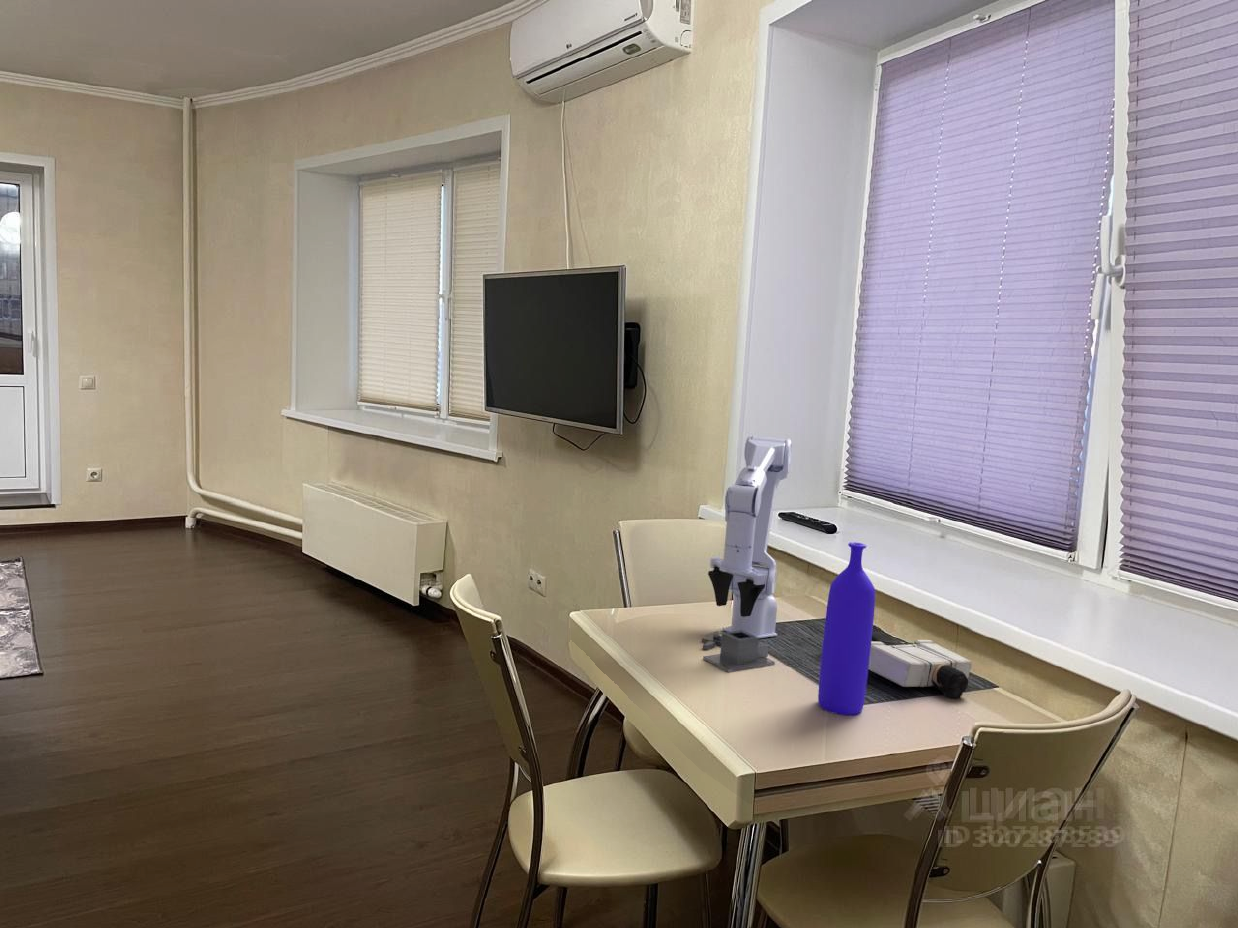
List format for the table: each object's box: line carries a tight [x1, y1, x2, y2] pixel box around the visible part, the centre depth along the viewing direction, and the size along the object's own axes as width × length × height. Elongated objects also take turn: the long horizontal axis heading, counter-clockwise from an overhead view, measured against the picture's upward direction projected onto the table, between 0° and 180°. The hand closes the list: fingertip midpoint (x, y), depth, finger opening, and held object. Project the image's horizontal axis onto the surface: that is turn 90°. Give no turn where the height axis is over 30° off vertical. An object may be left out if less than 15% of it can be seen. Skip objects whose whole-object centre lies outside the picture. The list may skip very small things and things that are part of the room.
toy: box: [868, 624, 973, 699], centre depth 190 cm, size 19×7×30 cm
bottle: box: [817, 541, 876, 716], centre depth 168 cm, size 8×8×30 cm
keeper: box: [702, 641, 776, 673], centre depth 190 cm, size 12×8×4 cm, turn 123°
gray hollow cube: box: [719, 630, 760, 665], centre depth 189 cm, size 5×5×5 cm
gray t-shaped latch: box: [701, 631, 723, 651], centre depth 200 cm, size 10×5×2 cm, turn 152°
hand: (733, 610), depth 191 cm, fingers open, 7 cm apart
